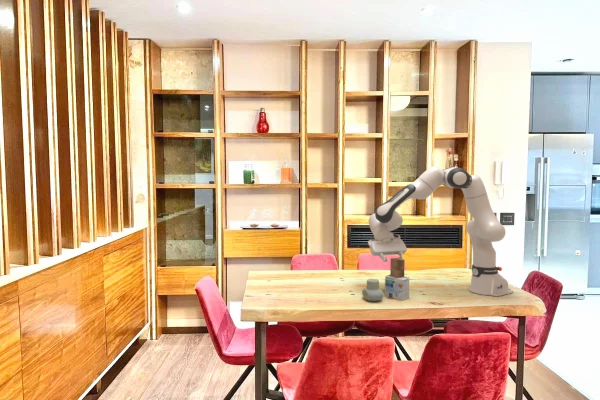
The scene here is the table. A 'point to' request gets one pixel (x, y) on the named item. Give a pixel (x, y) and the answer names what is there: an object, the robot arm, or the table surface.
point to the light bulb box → (397, 287)
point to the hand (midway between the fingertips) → (393, 260)
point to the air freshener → (372, 291)
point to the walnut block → (397, 267)
